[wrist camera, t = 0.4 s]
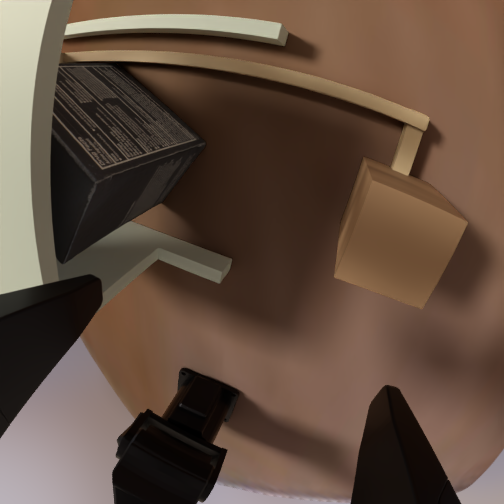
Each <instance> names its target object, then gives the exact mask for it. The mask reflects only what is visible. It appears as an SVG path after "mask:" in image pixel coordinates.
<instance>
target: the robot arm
mask: <svg viewBox="0 0 504 504" xmlns="http://www.w3.org/2000/svg"><path fill="white" fill-rule="evenodd" d="M102 302H103V292H102V281H101V279H100V278H98V277H96V276H94V275H92V274H87V275H83V276H78V277H74V278H69V279H65V280H61V281H56V282H52V283H47V284H43V285H39V286H34V287H30V288H26V289H21V290H17V291H13V292H9V293H4V294H0V438H1V437H2V435H3V434H4V432H5V431H6V430H7V428H8V427H9V425H10V424H11V422H12V421H13V420H14V418H15V417H16V416H17V414H18V413H19V412H20V410H21V409H22V408H23V406H24V405H25V404H26V402H27V401H28V400H29V398H30V397H31V396H32V394H33V393H34V392H35V390H36V389H37V388H38V387H39V386H40V384H41V383H42V382H43V380H44V379H45V378H46V377H47V375H48V374H49V373H50V372H51V371H52V369H53V368H54V367H55V366H56V364H57V363H58V362H59V361H60V360H61V358H62V357H63V356H64V355H65V354H66V352H67V351H68V350H69V349H70V347H71V346H72V345H73V344H74V343H75V342H76V340H77V339H78V338H79V336H80V335H81V334H82V332H83V331H84V329H85V328H86V326H87V325H88V323H89V322H90V321H91V319H92V318H93V316H94V315H95V313H96V312H97V311H98V309H99V308H100V306H101V305H102ZM238 396H239V392H238V391H237V390H235V389H233V388H230V387H228V386H225V385H223V384H220V383H218V382H215V381H213V380H211V379H208V378H206V377H204V376H201V375H199V374H197V373H195V372H192V371H190V370H188V369H186V368H181V370H180V371H179V380H178V391H177V394H176V395H175V397H174V398H173V400H172V402H171V403H170V405H169V406H168V408H167V409H166V411H165V413H164V414H163V416H162V417H160V416H158V415H156V414H155V413H153V411H151V410H149V409H147V410H146V412H145V413H141V412H140V414H139V415H138V417H137V418H136V419H135V421H134V422H133V424H132V425H131V426H130V427H129V428H128V429H127V430H125V431H124V432H123V433H122V434H121V435H120V436H119V437H118V439H117V443H118V446H119V447H118V449H117V450H118V451H117V453H116V457H117V458H118V459H120V460H119V462H118V463H117V465H116V467H115V468H114V470H113V472H112V477H113V478H112V480H113V481H112V483H113V492H114V504H197V502H198V501H200V502H204V501H205V500H206V498H207V497H208V496H209V494H210V493H211V491H212V489H213V487H214V485H215V483H216V481H217V478H218V476H219V473H220V470H221V467H222V464H223V462H224V459H225V456H226V453H227V449H224V448H220V447H218V446H216V445H214V444H213V442H214V440H215V438H216V436H217V434H218V432H219V430H220V427H221V425H222V423H223V421H225V422H228V421H229V419H230V416H231V414H232V411H233V409H234V406H235V403H236V401H237V398H238ZM447 479H448V477H447V475H446V473H445V472H444V470H443V468H442V466H441V464H440V462H439V460H438V458H437V456H436V454H435V452H434V451H433V449H432V447H431V445H430V443H429V441H428V439H427V438H426V436H425V434H424V432H423V430H422V428H421V427H420V425H419V423H418V421H417V419H416V418H415V416H414V414H413V412H412V411H411V409H410V407H409V405H408V404H407V402H406V400H405V398H404V397H403V395H402V393H401V392H400V390H399V389H398V388H397V387H394V386H390V385H385V386H384V387H383V388H382V389H381V390H380V391H379V393H378V394H377V395H376V397H375V398H374V399H373V400H372V402H371V404H370V406H369V410H368V415H367V419H366V424H365V428H364V433H363V437H362V441H361V445H360V450H359V455H358V462H357V469H356V475H355V482H354V488H353V493H352V499H351V504H461V503H460V501H459V499H458V497H457V495H456V493H455V491H454V489H453V487H452V485H451V483H450V481H449V480H447Z"/></svg>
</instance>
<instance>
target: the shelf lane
mask: <svg viewBox="0 0 504 504" xmlns="http://www.w3.org/2000/svg"><path fill="white" fill-rule="evenodd" d="M72 3H73V0H0V294H4V293H9V292H13V291H17V290H21V289H26V288H30V287H34V286H39V285H43V284H47V283H52V282H56V281H61V280H65V279H69V278H74V277H78V276H83V275H87V274H92V275H94V276H96V277H98V278H100V279H101V281H102V292H103V302H102V305H101V306H100V308H99V309H98V311H99V310H100V309H101V308H102V307H103V306H104V305H106V304H107V303H108V302H109V301H110V300H111V299H112V298H113V297H115V296H116V295H117V294H118V293H119V292H120V291H121V290H122V289H124V288H125V287H126V286H127V285H128V284H129V283H131V282H132V281H133V280H134V279H135V278H136V277H137V276H139V275H140V274H141V273H142V272H143V271H144V270H146V269H147V268H148V267H149V266H150V265H152V264H153V263H154V262H155V261H156V260H157V259H159V260H161V261H164V262H166V263H169V264H171V265H174V266H176V267H178V268H181V269H183V270H186V271H188V272H191V273H193V274H196V275H198V276H201V277H203V278H206V279H208V280H211V281H214V282H216V283H219V284H220V283H221V281H222V280H223V279H224V277H225V276H226V275H227V273H228V272H229V271H230V267H231V263H232V259H231V258H228V257H225V256H223V255H220V254H217V253H215V252H212V251H209V250H207V249H204V248H201V247H198V246H196V245H193V244H190V243H188V242H185V241H182V240H180V239H177V238H174V237H172V236H169V235H167V234H164V233H161V232H159V231H156V230H153V229H151V228H148V227H145V226H143V225H140V224H138V223H135V222H132V221H129V222H127V223H126V224H124V225H123V226H121V227H119V228H118V229H116V230H114V231H113V232H111V233H110V234H108V235H107V236H105V237H103V238H102V239H101V240H99V241H97V242H96V243H94V244H93V245H91V246H90V247H88V248H87V249H85V250H84V251H82V252H81V253H79V254H77V255H76V256H75V257H74V258H72V259H71V260H69V261H68V262H67V263H65V264H61V263H60V262H59V261H58V260H57V258H56V255H55V246H54V236H53V225H52V210H51V186H50V154H51V130H52V116H53V105H54V95H55V87H56V80H57V73H58V66H59V60H60V55H61V49H62V44H63V40H64V39H69V38H76V37H84V36H94V35H106V34H122V33H182V34H199V35H211V36H221V37H230V38H238V39H245V40H252V41H258V42H264V43H270V44H275V45H280V46H285V44H286V40H287V36H288V33H289V32H288V31H287V30H286V28H285V27H284V26H283V25H282V24H281V23H275V22H268V21H262V20H255V19H247V18H238V17H227V16H214V15H193V14H157V15H136V16H123V17H113V18H104V19H96V20H89V21H83V22H77V23H71V24H67V22H68V18H69V14H70V10H71V7H72ZM98 311H97V312H98ZM97 312H96V313H97Z"/></svg>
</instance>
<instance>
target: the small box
mask: <svg viewBox="0 0 504 504" xmlns="http://www.w3.org/2000/svg"><path fill="white" fill-rule="evenodd" d="M205 146H206V142H205V141H204V140H203V139H202V138H201V137H200V136H198V135H197V133H195V132H194V131H193V130H192V129H191V128H190V127H189V126H188V125H187V124H186V123H184V122H183V121H182V120H181V119H180V118H179V117H178V116H177V115H176V114H175V113H173V111H171V110H170V109H169V108H168V107H167V106H166V105H164V104H163V103H162V102H161V101H160V100H159V99H157V98H156V97H155V96H154V95H153V94H152V93H151V92H149V91H148V90H147V89H146V88H145V87H144V86H142V85H141V84H140V83H139V82H138V81H137V80H136V79H134V78H133V77H132V76H131V75H130V74H128V73H127V72H126V71H125V70H123V69H122V68H121V67H120V66H119V65H117V64H116V63H68V64H63V63H59V66H58V73H57V80H56V87H55V95H54V105H53V116H52V130H51V154H50V186H51V210H52V225H53V236H54V246H55V255H56V258H57V260H58V261H59V262H60V263H61V264H65V263H67V262H68V261H69V260H71V259H72V258H74V257H75V256H76V255H77V254H79V253H81V252H82V251H84V250H85V249H87V248H88V247H90V246H91V245H93V244H94V243H96V242H97V241H99V240H101V239H102V238H103V237H105V236H107V235H108V234H110V233H111V232H113V231H114V230H116V229H118V228H119V227H121V226H123V225H124V224H126V223H127V222H129V221H131V220H132V219H134V218H136V217H137V216H139V215H141V214H143V213H144V212H146V211H148V210H149V209H151V208H153V207H154V206H156V205H158V204H160V203H162V202H163V201H164V200H165V198H166V197H167V196H168V194H169V193H170V192H171V190H172V189H173V188H174V186H175V185H176V184H177V182H178V181H179V179H180V178H181V177H182V176H183V174H184V173H185V172H186V170H187V169H188V168H189V166H190V165H191V164H192V162H193V161H194V160H195V159H196V158H197V156H198V155H199V154H200V152H201V151H202V150H203V149H204V147H205Z"/></svg>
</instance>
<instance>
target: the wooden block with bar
mask: <svg viewBox="0 0 504 504" xmlns="http://www.w3.org/2000/svg"><path fill="white" fill-rule="evenodd" d="M76 62H141V63H157V64H169V65H179V66H189V67H197V68H204V69H211V70H218V71H224V72H230V73H236V74H242V75H247V76H252V77H257V78H262V79H266V80H271V81H275V82H279V83H284V84H288V85H292V86H296V87H299V88H303V89H307V90H311V91H314V92H318V93H321V94H324V95H328V96H331V97H334V98H337V99H341V100H344V101H347V102H350V103H353V104H356V105H358V106H361V107H364V108H367V109H370V110H372V111H375V112H378V113H380V114H383V115H386V116H388V117H391V118H393V119H396V120H398V121H400V122H403V123H405V124H404V127H403V130H402V134H401V137H400V140H399V143H398V146H397V149H396V152H395V155H394V158H393V161H392V164H391V166H387V165H385V164H382V163H380V162H377V161H374V160H372V159H369V158H367V157H363V160H362V163H361V166H360V169H359V172H358V174H357V177H356V180H355V183H354V186H353V189H352V192H351V195H350V197H349V200H348V203H347V206H346V208H345V211H344V214H343V217H342V219H341V222H340V230H339V240H338V249H337V257H336V266H335V273H334V278H337V279H340V280H343V281H345V282H348V283H351V284H354V285H357V286H359V287H362V288H365V289H368V290H370V291H373V292H376V293H379V294H381V295H384V296H387V297H390V298H392V299H395V300H398V301H401V302H403V303H406V304H409V305H412V306H414V307H417V308H420V309H422V308H423V307H424V305H425V303H426V302H427V300H428V298H429V297H430V295H431V293H432V292H433V290H434V288H435V286H436V285H437V283H438V281H439V279H440V278H441V276H442V274H443V272H444V270H445V268H446V267H447V265H448V263H449V261H450V259H451V257H452V255H453V253H454V251H455V249H456V247H457V245H458V243H459V241H460V239H461V237H462V235H463V233H464V230H465V228H466V226H467V224H468V222H467V220H466V219H465V218H464V217H463V216H462V215H461V214H460V213H459V212H458V211H457V210H456V209H455V208H454V207H453V206H452V205H451V204H450V203H449V202H448V201H447V200H446V199H445V198H444V197H443V196H442V195H441V194H440V193H439V192H438V191H437V190H436V189H435V188H434V187H433V186H432V185H431V184H429V183H427V182H425V181H423V180H420V179H418V178H416V177H413V176H411V175H409V172H410V170H411V167H412V164H413V161H414V158H415V155H416V152H417V149H418V146H419V143H420V140H421V137H422V134H423V131H426V129H427V125H428V122H429V119H430V118H428V116H426V115H424V114H422V113H419V112H417V111H415V110H412V109H408V108H406V107H403V106H401V105H398V104H396V103H393V102H391V101H388V100H386V99H383V98H380V97H378V96H375V95H372V94H369V93H367V92H364V91H361V90H358V89H355V88H352V87H349V86H346V85H343V84H340V83H336V82H333V81H330V80H326V79H323V78H319V77H316V76H312V75H308V74H304V73H300V72H296V71H292V70H288V69H284V68H279V67H275V66H270V65H265V64H260V63H255V62H249V61H243V60H237V59H231V58H224V57H217V56H209V55H200V54H191V53H179V52H165V51H140V50H110V51H86V52H72V53H61V55H60V60H59V63H63V64H68V63H76Z"/></svg>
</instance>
